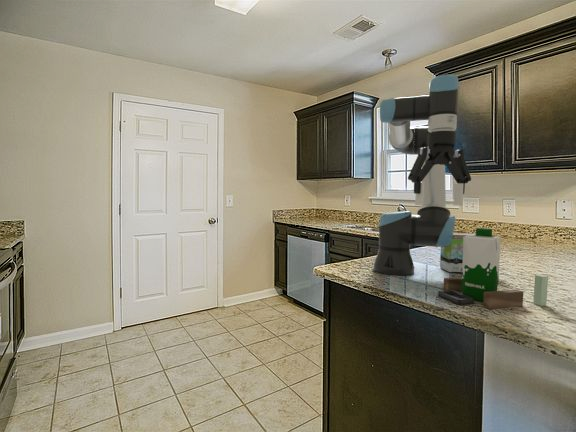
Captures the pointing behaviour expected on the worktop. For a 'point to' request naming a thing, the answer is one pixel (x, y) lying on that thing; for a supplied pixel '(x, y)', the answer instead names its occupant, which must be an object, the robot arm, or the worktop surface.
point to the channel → (489, 295)
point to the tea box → (453, 254)
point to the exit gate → (540, 290)
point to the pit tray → (456, 297)
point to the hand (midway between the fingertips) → (439, 205)
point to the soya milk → (480, 263)
